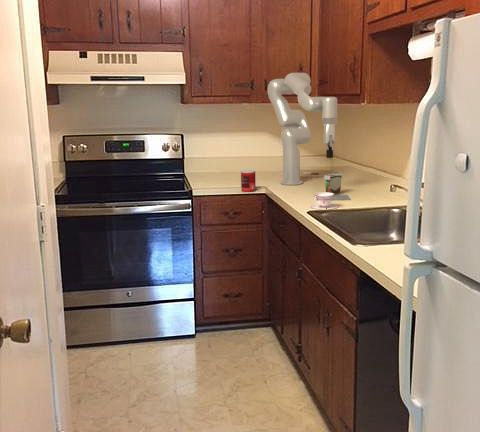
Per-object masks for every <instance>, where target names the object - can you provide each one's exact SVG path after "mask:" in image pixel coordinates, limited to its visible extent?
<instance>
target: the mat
mask: <svg viewBox="0 0 480 432" xmlns="http://www.w3.org/2000/svg"><path fill="white" fill-rule="evenodd" d="M315 196H316V195H315ZM315 199H316V201H319V200H318V198H317V197H315ZM351 200H352V199H351V197H350V196H349V195H348V194H336V195H333V196H332V197H331V201H351Z"/></svg>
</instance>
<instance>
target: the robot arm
mask: <svg viewBox="0 0 480 432" xmlns="http://www.w3.org/2000/svg"><path fill="white" fill-rule="evenodd" d="M311 80H312V79H311V76H310V75H309V74H308V73H306V72H290V73H288V74H286V76H285V78H275V79H272V80H271V81H269V82H268V84H267V95H268V96H267V97H268V99H269V101H270V103H271V105H272V107H273V109H274V112H275V115H276V118H277V121H278V124H279V126H280V127H282V128H284V129H283V130H282V131H281V132H280V133H281V135H280V138H281V143H282V165H283V166H282V180H280V185H285V186H298V185H302V184H303V180H301V151H300V148H299V147H298V145H301V144H308V143H309V142H310V141H311V139H312V133H311V129H310V127H309V123H308V120H307V118H306V115H305V113H304V112H303V111H301V110H300V109H291V108H290V104H289V101H288V100H287V99H286V98H285V97H284V96H283V95H294V94H295V95H296V96H297V102H298V105H299V106H300V107H301V108H303V110H305V111H307V112H309V113H316V112H317V113H318V112H319V113H320V112H322V114H321V115H322V116H321V120H322V121H321V123H322V126H323V144H324V145H326V152H325V153H326V159H333V158H334V144H335V142H336V126H337V125H338V98H337V96H336V97H335V96H310V94H311V92H312V86H311Z"/></svg>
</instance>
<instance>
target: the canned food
mask: <svg viewBox="0 0 480 432" xmlns="http://www.w3.org/2000/svg"><path fill="white" fill-rule="evenodd" d="M256 183H257V181H256V170H255V169H241V170H240V189H241V193H254V192H256Z"/></svg>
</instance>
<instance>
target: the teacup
mask: <svg viewBox="0 0 480 432" xmlns="http://www.w3.org/2000/svg"><path fill="white" fill-rule="evenodd" d="M315 195H316V196H315ZM315 195H313V200H314V202H316V203H313V204H312V205H310V208H312V209H315V210H319V211H320V210H323V211H324V210H325V211H327V210H329V209H330V208H331V209H330V210H335V209H337V208H338V205H337V204H333V203H331V201H332V200H331V197H332V196H333V195H334V193H327V192H326V191H325V192H316V193H315ZM316 197H317V198H318V200H317V198H316ZM326 208H327V209H326Z"/></svg>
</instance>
